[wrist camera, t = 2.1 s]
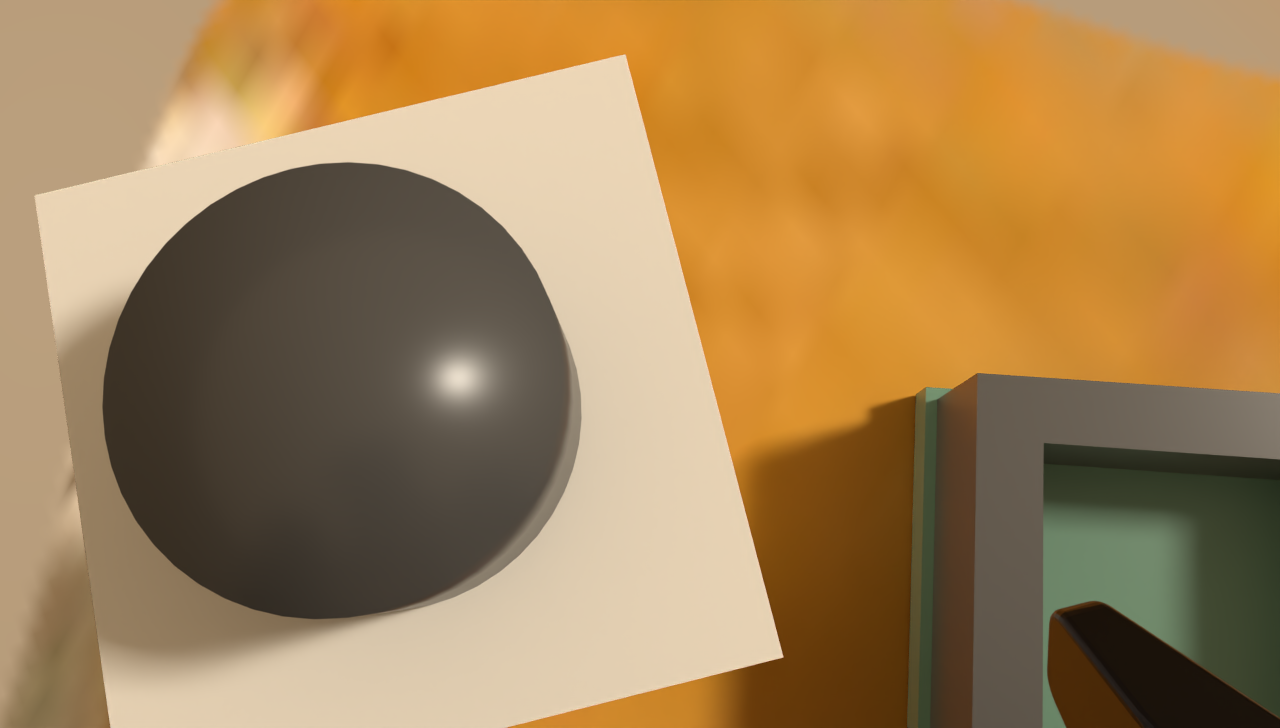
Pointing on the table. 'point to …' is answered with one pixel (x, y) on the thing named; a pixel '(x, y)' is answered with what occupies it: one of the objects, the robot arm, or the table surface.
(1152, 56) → the table surface
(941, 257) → the table surface
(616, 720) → the table surface
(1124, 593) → the grey and green tray
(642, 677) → the plug
